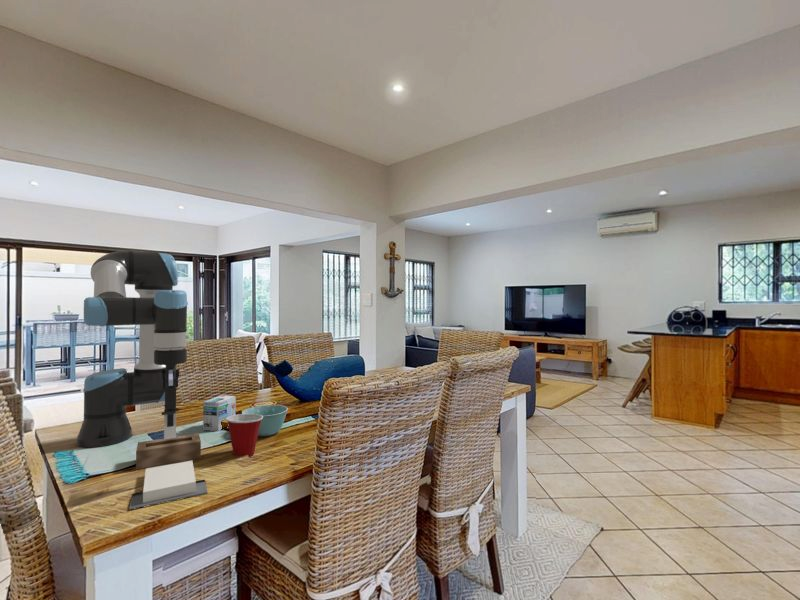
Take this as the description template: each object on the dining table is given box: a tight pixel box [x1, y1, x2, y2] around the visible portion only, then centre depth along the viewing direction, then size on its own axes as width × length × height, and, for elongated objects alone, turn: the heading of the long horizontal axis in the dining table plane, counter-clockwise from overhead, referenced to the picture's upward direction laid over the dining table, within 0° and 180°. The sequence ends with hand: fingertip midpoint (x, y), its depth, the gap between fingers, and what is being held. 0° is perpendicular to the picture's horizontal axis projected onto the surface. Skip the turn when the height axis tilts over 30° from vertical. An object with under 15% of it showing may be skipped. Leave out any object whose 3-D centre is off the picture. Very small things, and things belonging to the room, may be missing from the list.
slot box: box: [135, 432, 202, 471], centre depth 117 cm, size 16×8×6 cm, turn 120°
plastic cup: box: [226, 413, 263, 458], centre depth 123 cm, size 11×11×12 cm
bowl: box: [241, 404, 289, 437], centre depth 144 cm, size 16×16×8 cm
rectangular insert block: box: [142, 460, 197, 503], centre depth 102 cm, size 11×2×15 cm
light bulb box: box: [202, 394, 237, 432], centre depth 150 cm, size 11×7×11 cm, turn 168°
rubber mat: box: [129, 479, 208, 511], centre depth 103 cm, size 16×20×1 cm
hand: (170, 437), depth 105 cm, fingers closed
